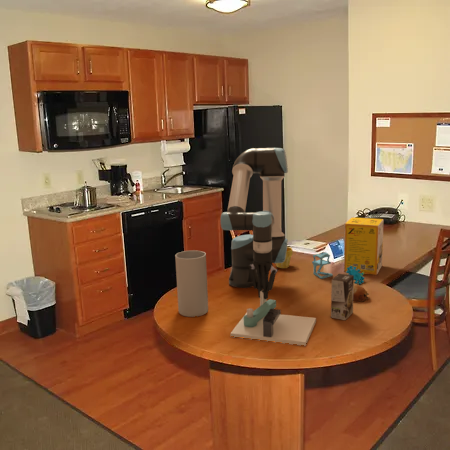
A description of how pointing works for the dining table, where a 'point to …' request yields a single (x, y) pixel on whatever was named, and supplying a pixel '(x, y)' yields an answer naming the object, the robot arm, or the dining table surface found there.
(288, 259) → the plant pot
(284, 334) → the base plate
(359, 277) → the gear
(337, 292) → the coffee box
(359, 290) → the bread roll
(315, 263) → the chair
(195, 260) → the cylinder vase
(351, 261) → the packaging box
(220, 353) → the dining table surface
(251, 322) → the latch bar
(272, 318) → the bar
